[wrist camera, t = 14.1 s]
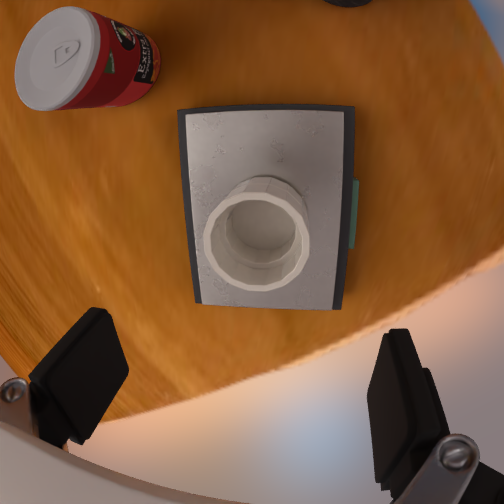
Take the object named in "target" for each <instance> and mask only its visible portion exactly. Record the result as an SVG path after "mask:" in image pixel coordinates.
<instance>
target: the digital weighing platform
mask: <svg viewBox="0 0 504 504" xmlns="http://www.w3.org/2000/svg"><path fill="white" fill-rule="evenodd" d="M186 133H187V150H188V165H189V179H190V191H191V203H192V215H193V225H194V236H195V246H196V255H197V264H198V273H199V282H200V290H201V298H202V304H205V305H220V306H236V307H254V308H275V309H302V310H332V305H333V297H334V288H335V278H336V268H337V257H338V245H339V232H340V218H341V200H342V179H343V141H344V112H341V111H321V110H246V111H225V112H210V113H197V114H187V115H186ZM254 177H272V178H274V179H277V180H279V181H282V182H284V183H287V184H288V185H290V186H291V187H292V188H293V189H294V190H295V191H296V192H297V193H298V194H299V195H300V196H301V198H302V200H303V202H304V204H305V207H306V209H307V212H308V220H309V230H310V252H309V258H308V260H307V262H306V263H305V265H304V267H303V269H302V271H301V273H300V274H299V275H298V276H297V277H295V278H294V279H293V280H292V281H291V282H289V283H288V284H287V285H285V286H283V287H280V288H277V289H274V290H270V291H266V292H263V291H247V290H244V289H241V288H239V287H236V286H234V285H231V284H229V283H228V282H227V281H225V280H224V279H223V278H222V277H221V276H220V275H219V274H218V273H216V272H215V271H214V270H213V268H212V266H211V264H210V262H209V260H208V258H207V256H206V254H205V250H204V239H203V232H204V229H205V226H206V223H207V221H208V218H209V215H210V214H211V213H212V212H213V210H214V209H215V208H216V207H217V206H218V205H219V204H220V202H221V201H222V200H223V199H224V198H225V197H226V196H227V195H228V194H229V193H230V191H231V190H232V189H233V188H234V187H235V186H236V185H237V184H239V183H242V182H244V181H246V180H249V179H251V178H254Z"/></svg>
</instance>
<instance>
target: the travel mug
mask: <svg viewBox="0 0 504 504" xmlns="http://www.w3.org/2000/svg"><path fill="white" fill-rule="evenodd" d="M323 1H325V2H328V3H330V4H333V5H337V6H342V7H357V6H362V5H365V4H367V3H369V2H371V1H372V0H323Z"/></svg>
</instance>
